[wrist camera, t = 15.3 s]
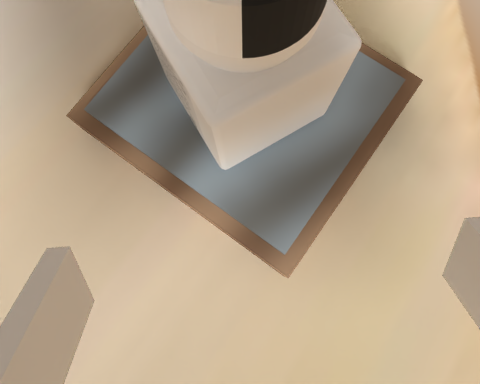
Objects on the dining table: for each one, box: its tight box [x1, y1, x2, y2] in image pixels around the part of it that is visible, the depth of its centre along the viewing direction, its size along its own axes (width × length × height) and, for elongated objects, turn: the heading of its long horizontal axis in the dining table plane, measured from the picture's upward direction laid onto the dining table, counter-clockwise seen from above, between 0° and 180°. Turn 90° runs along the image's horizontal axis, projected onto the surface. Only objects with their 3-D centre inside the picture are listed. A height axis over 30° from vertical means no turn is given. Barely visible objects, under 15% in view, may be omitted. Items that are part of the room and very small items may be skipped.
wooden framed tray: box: [66, 26, 423, 278], centre depth 24 cm, size 18×16×3 cm
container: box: [134, 0, 362, 170], centre depth 16 cm, size 8×8×13 cm
